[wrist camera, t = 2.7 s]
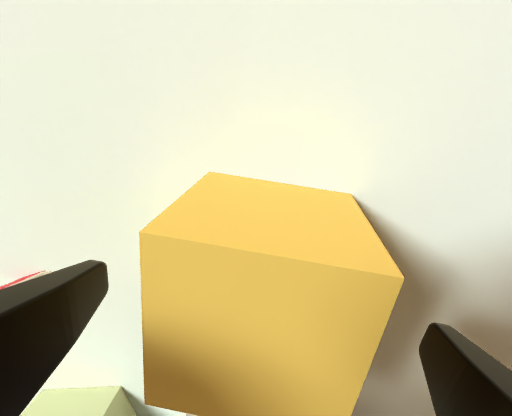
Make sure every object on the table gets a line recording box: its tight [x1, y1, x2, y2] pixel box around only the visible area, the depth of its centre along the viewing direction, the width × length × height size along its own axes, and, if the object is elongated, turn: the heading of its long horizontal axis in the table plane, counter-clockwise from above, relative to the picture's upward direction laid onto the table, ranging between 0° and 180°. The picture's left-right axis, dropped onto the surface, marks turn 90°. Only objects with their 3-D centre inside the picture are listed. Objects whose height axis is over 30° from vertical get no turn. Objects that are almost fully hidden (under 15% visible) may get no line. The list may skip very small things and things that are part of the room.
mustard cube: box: [139, 172, 405, 416], centre depth 8 cm, size 5×5×5 cm
